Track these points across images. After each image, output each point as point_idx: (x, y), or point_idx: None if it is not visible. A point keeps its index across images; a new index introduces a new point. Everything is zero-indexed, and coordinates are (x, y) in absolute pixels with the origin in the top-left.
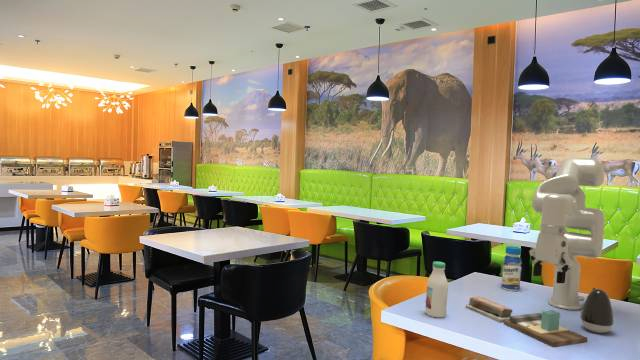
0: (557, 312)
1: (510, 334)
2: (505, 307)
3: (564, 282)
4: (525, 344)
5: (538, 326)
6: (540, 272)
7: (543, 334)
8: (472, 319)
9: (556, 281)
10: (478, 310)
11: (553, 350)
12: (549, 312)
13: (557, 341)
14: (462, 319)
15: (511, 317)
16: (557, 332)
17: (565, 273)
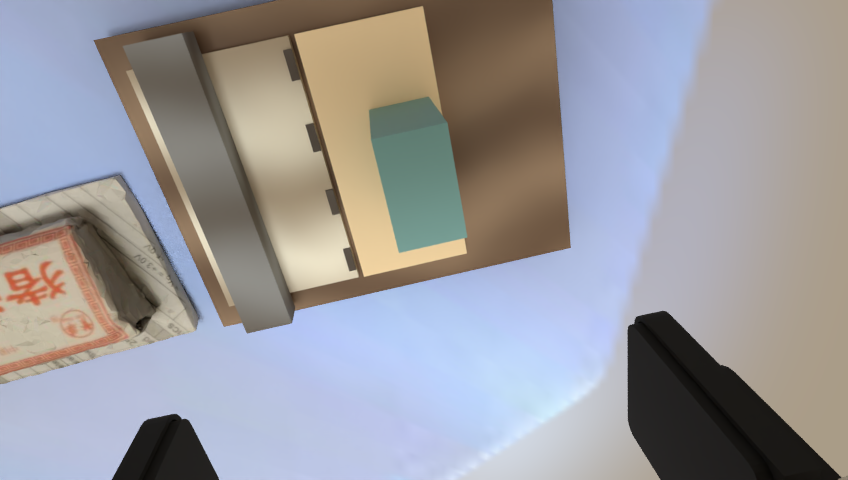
0: (435, 138)
1: (386, 350)
2: (52, 279)
3: (665, 315)
4: (509, 345)
5: (360, 197)
6: (173, 478)
7: None
8: None
9: (638, 440)
10: (25, 376)
11: (595, 259)
12: (431, 211)
13: (563, 214)
14: None
15: (264, 328)
16: None
17: (828, 469)
